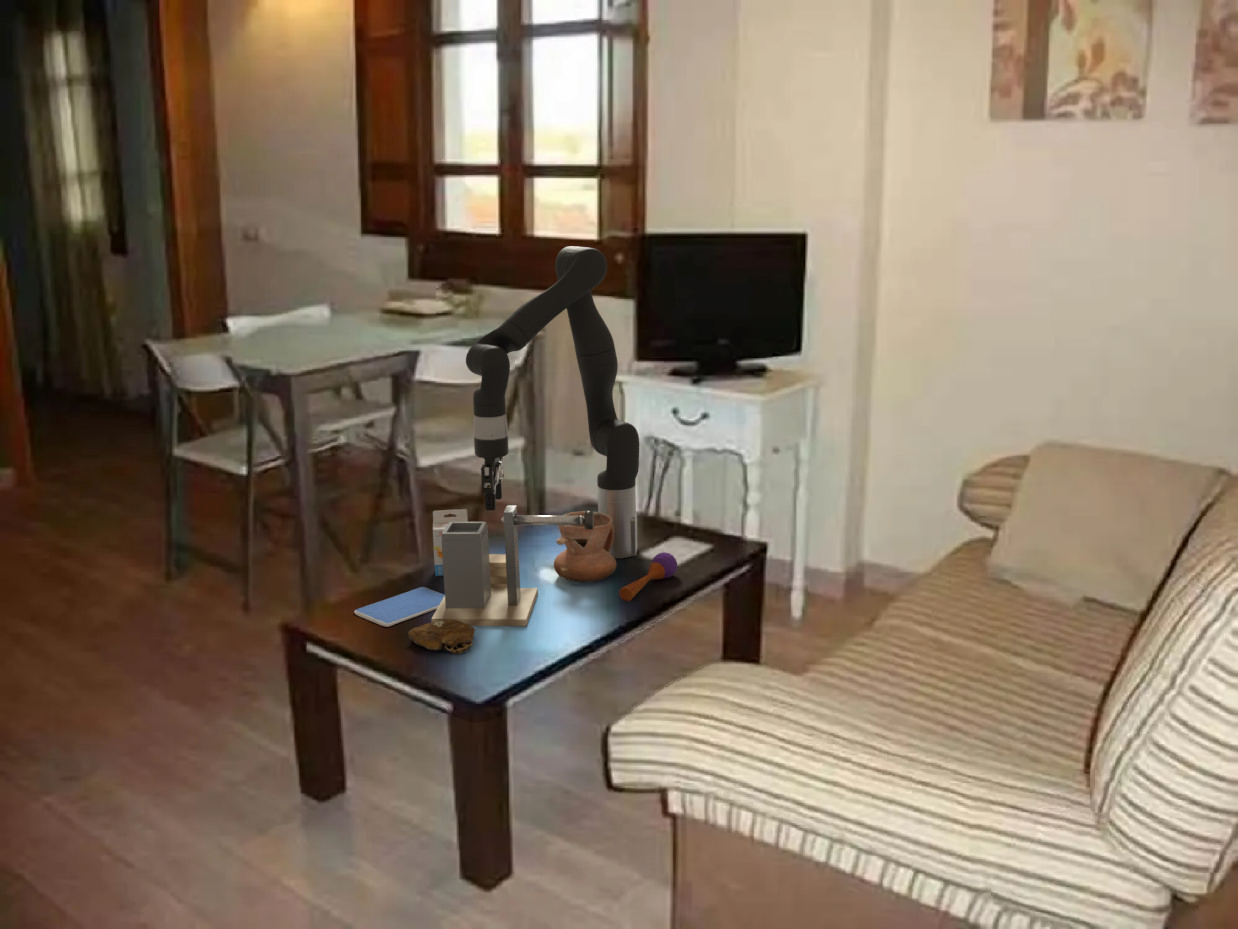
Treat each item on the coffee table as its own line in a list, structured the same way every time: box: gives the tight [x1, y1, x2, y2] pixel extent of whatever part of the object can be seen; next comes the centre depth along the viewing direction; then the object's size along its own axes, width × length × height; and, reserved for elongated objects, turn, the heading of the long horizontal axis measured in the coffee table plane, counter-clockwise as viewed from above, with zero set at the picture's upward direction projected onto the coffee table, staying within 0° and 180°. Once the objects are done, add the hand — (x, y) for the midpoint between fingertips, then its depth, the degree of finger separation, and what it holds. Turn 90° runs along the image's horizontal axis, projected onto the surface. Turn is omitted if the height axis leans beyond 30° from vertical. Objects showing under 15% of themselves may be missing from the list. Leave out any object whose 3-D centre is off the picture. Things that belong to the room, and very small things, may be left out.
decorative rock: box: [407, 620, 476, 655], centre depth 240 cm, size 11×4×15 cm
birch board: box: [431, 587, 539, 627], centre depth 258 cm, size 20×18×2 cm
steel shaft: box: [500, 510, 594, 530], centre depth 252 cm, size 20×4×4 cm, turn 86°
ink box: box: [432, 508, 469, 577], centre depth 279 cm, size 8×5×15 cm, turn 98°
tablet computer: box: [353, 586, 445, 628], centre depth 260 cm, size 19×13×1 cm, turn 137°
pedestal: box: [442, 521, 491, 609], centre depth 256 cm, size 8×8×17 cm
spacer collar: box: [489, 553, 507, 588], centre depth 271 cm, size 6×6×6 cm
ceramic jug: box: [553, 510, 618, 583], centre depth 275 cm, size 18×14×14 cm
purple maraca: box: [618, 551, 678, 602], centre depth 269 cm, size 6×6×20 cm
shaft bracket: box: [503, 504, 521, 606], centre depth 255 cm, size 2×5×21 cm, turn 176°
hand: (493, 504), depth 267 cm, fingers open, 8 cm apart
